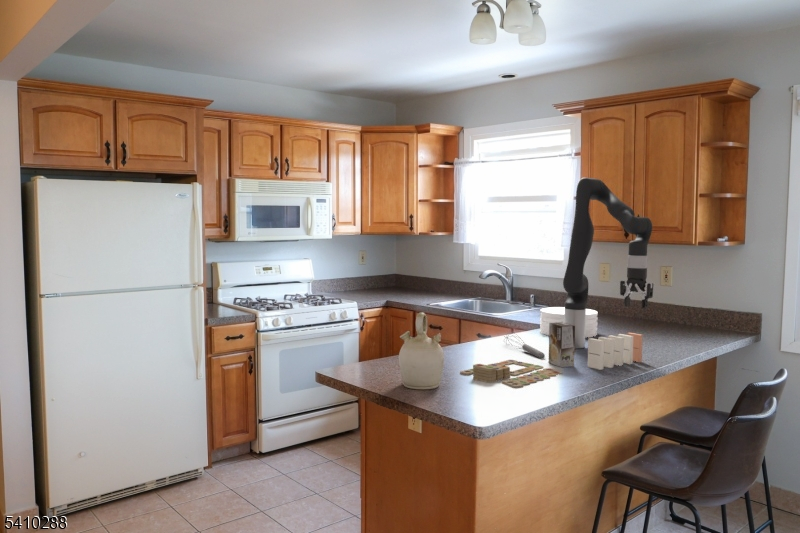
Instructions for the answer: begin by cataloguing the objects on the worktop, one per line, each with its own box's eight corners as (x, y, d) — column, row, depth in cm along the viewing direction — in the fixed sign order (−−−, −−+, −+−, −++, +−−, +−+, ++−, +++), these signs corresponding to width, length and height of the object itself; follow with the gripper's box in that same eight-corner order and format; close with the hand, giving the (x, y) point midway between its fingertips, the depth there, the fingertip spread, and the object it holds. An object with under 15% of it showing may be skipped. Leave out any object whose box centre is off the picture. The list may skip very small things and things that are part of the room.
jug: (389, 386, 214) (390, 313, 212) (414, 377, 227) (415, 308, 225) (428, 394, 206) (429, 317, 204) (452, 384, 219) (453, 311, 217)
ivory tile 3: (610, 367, 246) (611, 339, 245) (597, 364, 251) (598, 337, 250) (613, 367, 247) (614, 339, 246) (600, 364, 252) (601, 336, 251)
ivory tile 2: (620, 365, 249) (621, 338, 248) (607, 363, 254) (608, 335, 253) (623, 365, 250) (624, 337, 249) (610, 362, 255) (611, 335, 254)
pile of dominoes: (516, 390, 213) (516, 374, 213) (454, 376, 232) (454, 361, 232) (570, 373, 238) (570, 359, 237) (509, 362, 257) (510, 348, 256)
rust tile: (639, 362, 256) (639, 335, 255) (626, 359, 261) (627, 333, 260) (641, 361, 257) (642, 334, 256) (628, 359, 262) (629, 332, 261)
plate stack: (588, 340, 304) (589, 316, 303) (532, 334, 318) (532, 311, 317) (603, 332, 327) (604, 309, 327) (550, 326, 342) (550, 305, 341)
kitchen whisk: (538, 360, 258) (538, 345, 258) (500, 345, 290) (500, 331, 290) (551, 360, 260) (552, 344, 260) (512, 345, 292) (513, 331, 292)
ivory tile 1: (629, 364, 253) (630, 336, 252) (616, 361, 257) (617, 334, 257) (632, 363, 254) (633, 336, 253) (619, 360, 258) (620, 333, 258)
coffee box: (575, 366, 248) (576, 325, 246) (561, 367, 245) (562, 326, 244) (561, 361, 256) (562, 321, 255) (547, 362, 254) (548, 322, 253)
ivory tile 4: (600, 369, 242) (601, 341, 242) (587, 366, 247) (588, 338, 246) (603, 369, 243) (604, 340, 243) (590, 366, 248) (591, 338, 247)
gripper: (658, 267, 252) (657, 309, 254) (627, 265, 264) (626, 304, 265) (647, 268, 248) (645, 310, 249) (616, 265, 260) (614, 306, 261)
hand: (635, 307), depth 257 cm, fingers open, 7 cm apart
